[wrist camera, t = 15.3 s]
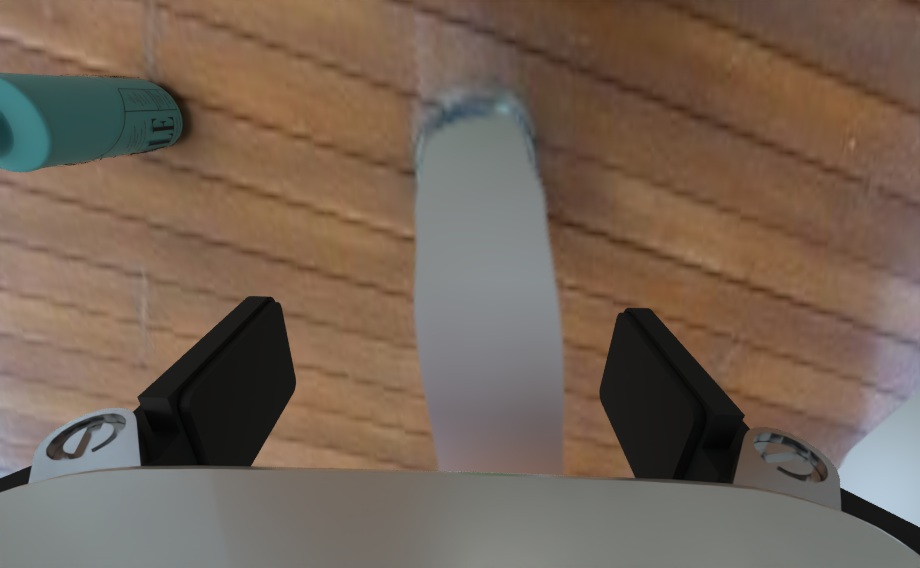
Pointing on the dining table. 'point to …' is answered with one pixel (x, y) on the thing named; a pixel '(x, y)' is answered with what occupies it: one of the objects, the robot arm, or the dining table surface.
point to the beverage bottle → (81, 119)
